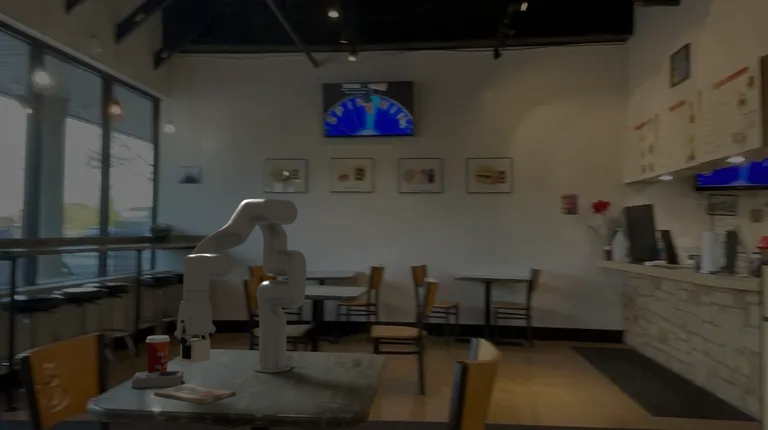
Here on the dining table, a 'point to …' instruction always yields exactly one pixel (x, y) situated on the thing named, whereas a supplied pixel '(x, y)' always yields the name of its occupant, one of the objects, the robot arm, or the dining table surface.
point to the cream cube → (198, 351)
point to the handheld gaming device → (157, 379)
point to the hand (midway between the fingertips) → (195, 356)
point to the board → (195, 393)
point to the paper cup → (157, 353)
